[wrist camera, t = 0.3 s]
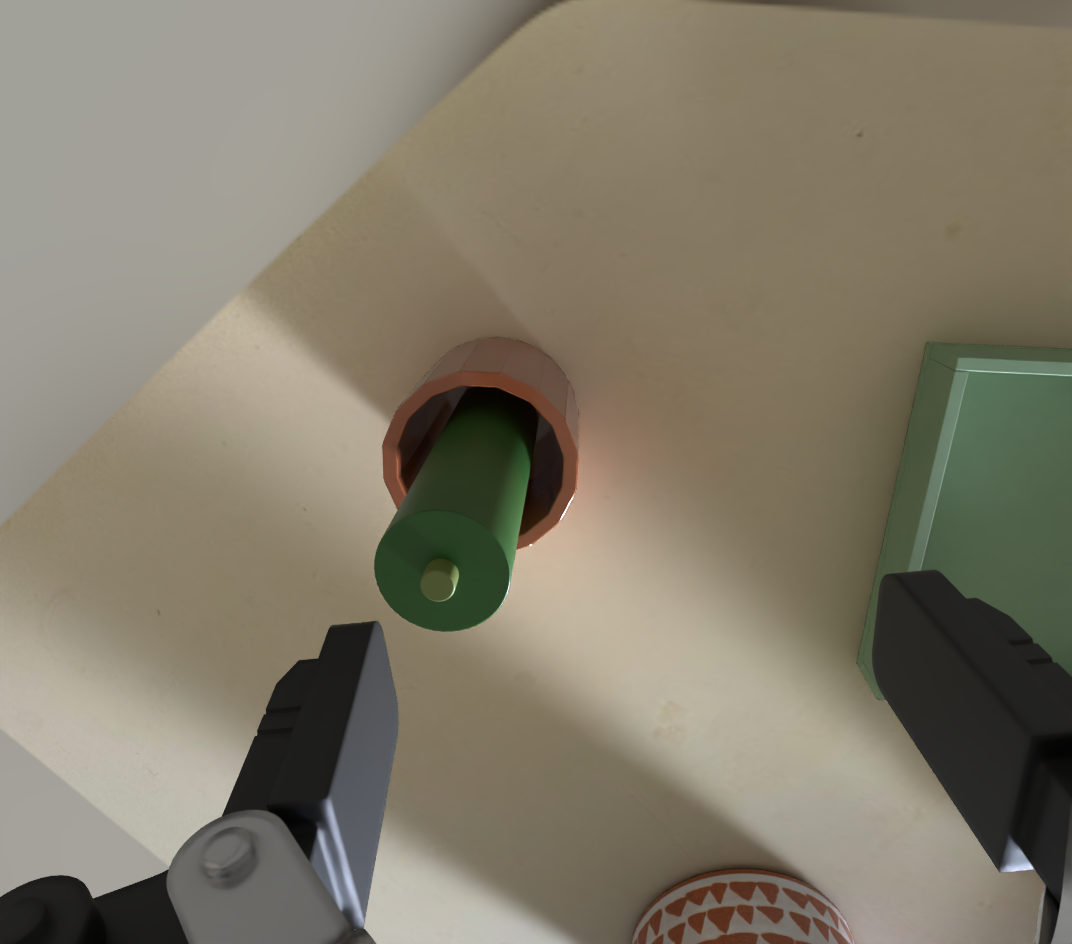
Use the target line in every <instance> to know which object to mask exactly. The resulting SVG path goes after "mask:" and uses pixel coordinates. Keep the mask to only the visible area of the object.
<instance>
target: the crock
mask: <svg viewBox="0 0 1072 944" xmlns="http://www.w3.org/2000/svg"><path fill="white" fill-rule="evenodd" d="M474 386H478V387H498V388H500V389H502V390H504V391H506V392H508V393H511V394H513V395H515V396H517V397H519V398H522V399H524V400H526V401H528V402H530V403H531V404H532V405H533V407H534V408H535V410H536V413H537V418H538V429H537V435H536V440H535V446H534V452H533V457H532V463H531V469H530V474H529V480H528V486H527V491H526V497H525V503H524V508H523V514H522V520H521V525H520V531H519V536H518V542H517V548H516V550H518V549H521V548H524V547H527V546H531V545H532V544H534V543H535V542H536V541H538V540H539V539H540V538H541V537H543V536H544V535H545V534H546V533H548V532H549V531H550V530H551V529H552V528H554V527H555V526H556V525H557V524H559V522H560V521H561V519H562V517H563V516H564V514H565V512H566V510H567V508H568V506H569V504H570V502H571V500H572V498H573V496H574V494H575V493H576V489H577V474H578V458H579V410H578V407H577V401H576V398H575V394H574V391H573V389H572V387H571V384H570V382H569V380H568V379H567V377H566V375H565V374H564V372H563V371H562V370H561V369H560V367H559V366H558V365H557V364H556V363H555V362H554V361H553V360H552V359H551V358H550V357H549V356H547V355H546V354H545V353H543V352H542V351H540V350H539V349H537V348H535V347H533V346H531V345H529V344H526V343H524V342H521V341H518V340H514V339H509V338H500V337H491V338H482V339H476V340H473V341H469V342H466V343H464V344H462V345H460V346H457V347H456V348H454V349H453V350H451V351H449V352H448V353H447V354H445V355H444V356H443V357H442V358H441V359H440V360H439V361H438V362H437V363H436V364H435V365H434V366H433V367H432V368H431V369H430V370H429V371H428V372H427V373H426V374H425V375H424V377H423V378H422V379H421V380H420V381H419V383H418V384H417V385H416V386H415V388H414V389H413V390H412V391H411V392H410V394H409V395H408V396H407V397H406V399H405V400H404V401H403V402H402V403H401V405H400V406H399V407H398V408H397V410H396V411H395V414H394V416H393V419H392V421H391V424H390V426H389V428H388V431H387V433H386V436H385V438H384V441H383V445H382V450H383V478H384V482H385V484H386V486H387V488H388V490H389V492H390V495H391V497H392V499H393V501H394V503H395V505H396V507H397V510H398V509H399V507H400V505H401V504H402V502H403V500H404V498H405V496H406V495H407V493H408V491H409V489H410V487H411V486H412V484H413V482H414V480H415V479H416V477H417V475H418V473H419V471H420V470H421V468H422V466H423V464H424V463H425V461H426V459H427V457H428V455H429V454H430V452H431V450H432V448H433V446H434V445H435V443H436V441H437V439H438V438H439V436H440V434H441V432H442V430H443V429H444V427H445V425H446V423H447V422H448V420H449V418H450V416H451V414H452V413H453V411H454V409H455V407H456V406H457V404H458V402H459V400H460V399H461V397H462V396H463V395H464V394H465V393H466V392H467V391H468V390H469V389H471V388H472V387H474Z"/></svg>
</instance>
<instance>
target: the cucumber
mask: <svg viewBox="0 0 1072 944" xmlns="http://www.w3.org/2000/svg"><path fill="white" fill-rule="evenodd" d="M537 429H538V418H537V413H536V410H535V408H534V407H533V405H532V404H531V403H530V402H528V401H526V400H524V399H522V398H519V397H517V396H515V395H513V394H511V393H508V392H506V391H504V390H502V389H500V388H498V387H478V386H474V387H472V388H471V389H469V390H468V391H467V392H466V393H465V394H464V395H463V396H462V397H461V399H460V400H459V402H458V404H457V406H456V407H455V409H454V411H453V413H452V414H451V416H450V418H449V420H448V422H447V423H446V425H445V427H444V429H443V430H442V432H441V434H440V436H439V438H438V439H437V441H436V443H435V445H434V446H433V448H432V450H431V452H430V454H429V455H428V457H427V459H426V461H425V463H424V464H423V466H422V468H421V470H420V471H419V473H418V475H417V477H416V479H415V480H414V482H413V484H412V486H411V487H410V489H409V491H408V493H407V495H406V496H405V498H404V500H403V502H402V504H401V505H400V507H399V509H398V511H397V512H396V514H395V516H394V518H393V520H392V521H391V523H390V525H389V527H388V528H387V530H386V532H385V534H384V536H383V537H382V539H381V541H380V543H379V545H378V548H377V551H376V555H375V563H374V570H375V577H376V581H377V585H378V587H379V589H380V592H381V594H382V595H383V597H384V599H385V600H386V602H387V603H388V604H389V606H390V607H391V608H392V609H393V610H394V611H395V612H396V613H398V614H399V615H400V616H401V617H403V618H404V619H406V620H407V621H409V622H411V623H413V624H415V625H417V626H419V627H422V628H425V629H429V630H433V631H441V632H453V631H461V630H465V629H469V628H472V627H474V626H477V625H479V624H481V623H483V622H484V621H486V620H487V619H488V618H490V617H491V616H492V615H493V614H494V613H495V612H496V611H497V610H498V609H499V608H500V606H501V605H502V603H503V602H504V600H505V598H506V596H507V593H508V590H509V586H510V582H511V576H512V570H513V565H514V559H515V553H516V548H517V542H518V536H519V531H520V525H521V520H522V514H523V508H524V503H525V497H526V491H527V486H528V480H529V474H530V469H531V463H532V457H533V452H534V446H535V440H536V435H537Z"/></svg>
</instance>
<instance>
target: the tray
mask: <svg viewBox="0 0 1072 944" xmlns="http://www.w3.org/2000/svg"><path fill="white" fill-rule="evenodd" d="M933 569H934V570H938V571H939V572H941V573H942V574H943V575H944V576H945V577H946V578H947V579H948V580H949V581H950V582H951V583H952V584H953V585H954V586H955V587H956V588H957V589H958V590H959V592H960V593H961V594H962V595H963V596H964V597H965V598H966V599H967V598H978V599H980V600H982V601H983V602H985V603H987V604H989V605H991V606H992V607H994V608H996V609H998V610H1000V611H1002V612H1003V613H1005V614H1007V615H1009V616H1010V617H1011V618H1012V619H1013V620H1014V621H1015V622H1016V623H1017V624H1018V625H1019V626H1020V627H1021V628H1023V629H1024V630H1025V631H1026V632H1027V633H1028V634H1029V635H1030V636H1031V637H1032V638H1033V642H1034V644H1035V643H1038V644H1039V645H1040V646H1041V647H1042V648H1043V649H1044V650H1045V651H1046V652H1047V653H1048V654H1049V655H1050V656H1051V657H1052V661H1053V663H1058V664H1059V665H1060V666H1061V667H1062V668H1063V669H1064V670H1065V671H1066V672H1067V673H1068V674H1069V675H1070V676H1071V677H1072V349H1059V348H1038V347H1016V346H995V345H974V344H952V343H931V342H929V343H927V345H926V350H925V354H924V359H923V363H922V368H921V372H920V377H919V381H918V386H917V391H916V395H915V400H914V404H913V409H912V413H911V418H910V422H909V427H908V431H907V436H906V441H905V445H904V450H903V454H902V459H901V463H900V468H899V472H898V477H897V481H896V486H895V491H894V495H893V500H892V504H891V509H890V513H889V518H888V522H887V527H886V531H885V536H884V541H883V545H882V550H881V554H880V559H879V563H878V568H877V572H876V577H875V581H874V586H873V591H872V595H871V600H870V604H869V609H868V613H867V618H866V622H865V627H864V631H863V636H862V641H861V645H860V650H859V654H858V659H857V665H858V667H859V668H860V670H861V672H862V674H863V676H864V677H865V679H866V681H867V683H868V684H869V686H870V688H871V690H872V691H873V693H874V695H875V697H876V698H877V699H878V700H886V699H885V698H884V696H883V695H882V693H881V691H880V689H879V687H878V685H877V682H876V679H875V675H874V671H873V666H872V646H873V638H874V629H875V620H876V612H877V603H878V595H879V587H880V582H881V580H882V578H883V576H884V575H886V574H891V573H902V572H912V571H923V570H933Z"/></svg>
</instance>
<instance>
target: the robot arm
mask: <svg viewBox="0 0 1072 944" xmlns="http://www.w3.org/2000/svg"><path fill="white" fill-rule="evenodd" d="M872 666H873V671H874V675H875V679H876V682H877V685H878V687H879V689H880V691H881V693H882V695H883V696H884V698H885V699H886V701H887V702H888V704H889V705H890V707H891V708H892V710H893V711H894V713H895V714H896V716H897V717H898V719H899V720H900V722H901V723H902V725H903V727H904V728H905V730H906V731H907V733H908V734H909V736H910V737H911V739H912V740H913V742H914V743H915V745H916V746H917V748H918V749H919V751H920V752H921V754H922V755H923V757H924V758H925V760H926V762H927V763H928V765H929V766H930V768H931V769H932V771H933V772H934V774H935V775H936V777H937V778H938V780H939V781H940V783H941V784H942V786H943V787H944V789H945V790H946V792H947V794H948V795H949V797H950V798H951V800H952V801H953V803H954V804H955V806H956V807H957V809H958V810H959V812H960V813H961V815H962V816H963V818H964V819H965V821H966V822H967V824H968V825H969V827H970V829H971V830H972V832H973V833H974V835H975V836H976V838H977V839H978V841H979V842H980V844H981V845H982V847H983V848H984V850H985V851H986V853H987V854H988V856H989V857H990V859H991V861H992V862H993V864H994V865H995V867H996V868H997V870H998V871H999V872H1010V871H1021V870H1031V869H1035V871H1036V872H1037V873H1038V875H1039V876H1040V878H1041V879H1042V880H1043V882H1044V883H1045V884H1044V888H1043V892H1042V895H1041V899H1040V905H1039V913H1038V920H1037V928H1036V936H1035V944H1072V677H1071V676H1070V675H1069V674H1068V673H1067V672H1066V671H1065V670H1064V669H1063V668H1062V667H1061V666H1060V665H1059V664H1058V663H1053V661H1052V657H1051V656H1050V655H1049V654H1048V653H1047V652H1046V651H1045V650H1044V649H1043V648H1042V647H1041V646H1040V645H1039V644H1038V643H1035V644H1034V642H1033V638H1032V637H1031V636H1030V635H1029V634H1028V633H1027V632H1026V631H1025V630H1024V629H1023V628H1021V627H1020V626H1019V625H1018V624H1017V623H1016V622H1015V621H1014V620H1013V619H1012V618H1011V617H1010V616H1009V615H1007V614H1005V613H1003V612H1002V611H1000V610H998V609H996V608H994V607H992V606H991V605H989V604H987V603H985V602H983V601H982V600H980V599H978V598H967V599H966V598H965V597H964V596H963V595H962V594H961V593H960V592H959V590H958V589H957V588H956V587H955V586H954V585H953V584H952V583H951V582H950V581H949V580H948V579H947V578H946V577H945V576H944V575H943V574H942V573H941V572H939V571H938V570H934V569H933V570H923V571H912V572H902V573H891V574H886V575H884V576H883V578H882V580H881V582H880V587H879V595H878V603H877V612H876V620H875V629H874V638H873V646H872ZM397 736H398V702H397V696H396V691H395V686H394V681H393V677H392V672H391V667H390V662H389V658H388V653H387V648H386V644H385V639H384V634H383V630H382V627H381V625H380V623H379V622H378V621H371V622H361V623H350V624H340V625H332V626H330V628H329V630H328V632H327V635H326V638H325V641H324V643H323V646H322V649H321V652H320V655H319V658H318V659H308V660H299V661H298V662H297V663H296V664H295V665H294V666H293V667H292V668H291V669H290V670H289V671H288V672H287V673H286V674H285V675H284V676H283V677H282V678H281V679H280V681H279V682H278V683H277V684H276V686H275V688H274V691H273V693H272V696H271V698H270V701H269V703H268V705H267V708H266V714H264V715H263V718H262V720H261V722H260V725H259V727H258V730H257V736H255V737H254V740H253V742H252V744H251V747H250V749H249V752H248V754H247V757H246V759H245V761H244V764H243V766H242V769H241V771H240V774H239V776H238V778H237V781H236V783H235V786H234V788H233V791H232V793H231V795H230V798H229V800H228V803H227V805H226V808H225V810H224V812H223V815H222V817H220V818H218V819H216V820H214V821H212V822H210V823H209V824H207V825H205V826H204V827H202V828H201V829H200V830H198V831H197V832H196V833H195V834H193V835H192V836H191V837H190V838H189V839H188V840H187V841H186V842H185V843H184V844H183V846H182V847H181V848H180V849H179V851H178V852H177V854H176V855H175V857H174V859H173V860H172V863H171V865H170V867H169V869H168V870H166V871H165V872H163V873H160V874H158V875H155V876H153V877H151V878H148V879H145V880H143V881H140V882H137V883H134V884H132V885H129V886H126V887H123V888H121V889H118V890H115V891H113V892H110V893H107V894H104V895H102V896H99V897H96V898H92V896H91V894H90V892H89V890H88V888H87V887H86V885H85V884H84V883H83V882H82V881H80V880H79V879H77V878H74V877H70V876H63V875H59V876H49V877H44V878H40V879H37V880H34V881H31V882H28V883H26V884H23V885H21V886H19V887H17V888H15V889H13V890H11V891H10V892H8V893H6V894H4V895H3V896H1V897H0V944H376V943H375V942H374V940H373V939H372V937H371V936H370V935H369V934H368V932H367V931H366V930H365V929H364V928H363V927H364V922H365V916H366V910H367V905H368V899H369V894H370V888H371V882H372V877H373V871H374V866H375V860H376V854H377V849H378V843H379V838H380V832H381V826H382V821H383V815H384V810H385V804H386V798H387V793H388V787H389V781H390V776H391V770H392V765H393V759H394V753H395V748H396V742H397ZM354 929H356V930H354Z"/></svg>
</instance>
